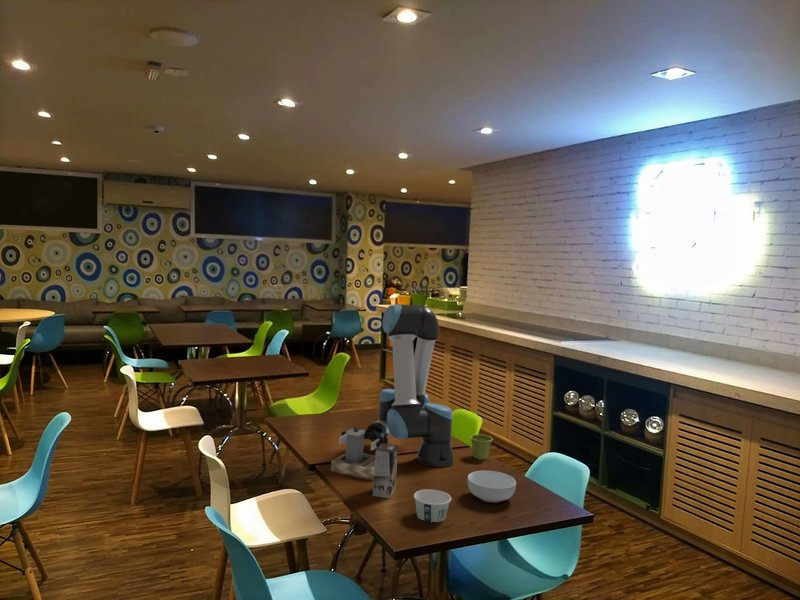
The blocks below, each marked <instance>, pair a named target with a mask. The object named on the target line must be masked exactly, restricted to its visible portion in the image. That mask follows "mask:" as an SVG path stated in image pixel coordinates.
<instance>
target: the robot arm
mask: <svg viewBox="0 0 800 600" xmlns="http://www.w3.org/2000/svg"><path fill="white" fill-rule="evenodd" d="M382 329H383V332H384V333H386V334H388V335H387V337H388V339H389V340H390V341H391V344H392V362H393V383H394V389H393V388H383V389H381V390H380V392H379V393H380V394H379V402H378V405H379V406H378V407H379V408H378V419H377V420H376V421H374V422H373V423H371V424H369V425H368V426H367V428H366V429H364V430H365V433H364V440H369V441H371V443H370V451H374V450H376V449H377V448H378V447H379V446H380V444H389V443H388V442H389V440H388V439H389V437H388V436H390V435H391V436H392V437H393V438H394V439H397V440H399V439H400V440H401V439H404V440H407V439H419V438H421V439H422V440H421V444H420V446H419V448H418V451H417V455H416V461H417V462H418V463H419V464H421V465H423V466H428V467H433V468H444V467H449V466H450V467H451V466H452V465H454V462H455V455H454V453H453V448H452V444H451V443H452V442H451V440H452V428H453V427H452V426H453V411H452V408H450V407H448V406H447V405H443V404H438V403H433V402H429V400H430V399H429V396H428V394H427V393H426V389H427V384H428V378H429V373H430V368H431V363H432V358H433V352H434V347H435V343H436V341H437V340H439V335H440V326H439V321H438V318H437V316H436V314H435V312H433V310H432V309H431V308H429V306H426V305H421V304H420V305H419V304H418V305H415V304H400V303H399V304H391V305H388V306H387V307H386V308H385V311H384V314H383V317H382ZM416 338H417V340H416V346H415V348H414V340H415V339H416ZM414 349H415V350H414ZM359 429H360V430H361V428H360V427H359ZM346 431H347V430H345V431H341V436H339V437H338V444H339V445H343V444H345V443H346V441H347V434H346Z"/></svg>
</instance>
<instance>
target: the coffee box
mask: <svg viewBox="0 0 800 600" xmlns="http://www.w3.org/2000/svg"><path fill="white" fill-rule="evenodd" d="M398 449H399V445H398V444H390V443H388V444H380V446H379V447H377V448H375V453H374V456H375V468H374V481H373V483H372V484H373V487H372V497H377V498H384V499H391V497H392V496H393V493H395V490H396V485H397V483H396V482H397V467H398V465H397V464H398V452H399V451H398Z"/></svg>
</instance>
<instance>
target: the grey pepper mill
mask: <svg viewBox="0 0 800 600" xmlns="http://www.w3.org/2000/svg"><path fill="white" fill-rule="evenodd" d="M359 428H360V425H359V424H354V425H353V427H352V428H350V429H348V430H345V431H346V434H347V441H346V442H345V446H346V447H345V453H346V459H345V461H350V462H355V463H360V462H362V461H363V453H364V448H365V447H364V445H365V439H364V433H365V430H366V429H361V428H360V429H359Z"/></svg>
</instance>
